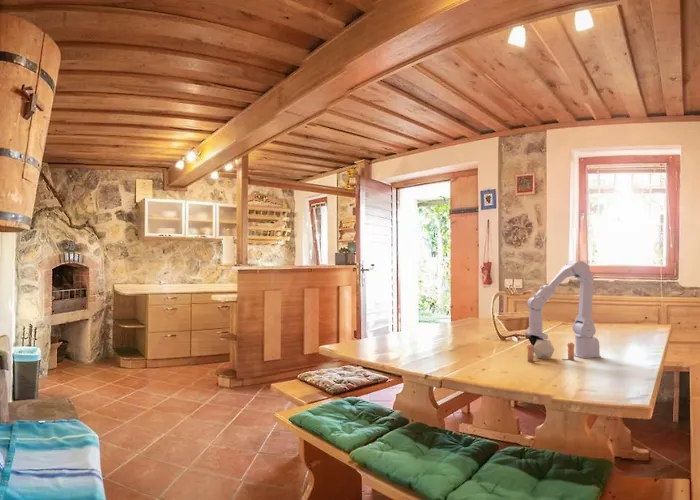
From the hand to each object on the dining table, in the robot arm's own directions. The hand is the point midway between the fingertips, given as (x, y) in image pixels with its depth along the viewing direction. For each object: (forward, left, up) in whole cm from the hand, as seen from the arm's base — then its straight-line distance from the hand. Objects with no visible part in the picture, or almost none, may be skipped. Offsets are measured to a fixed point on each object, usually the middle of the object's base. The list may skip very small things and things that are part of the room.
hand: (536, 352), depth 197 cm
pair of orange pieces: (0, +11, -1) cm, 11 cm away
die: (0, +6, -2) cm, 6 cm away
